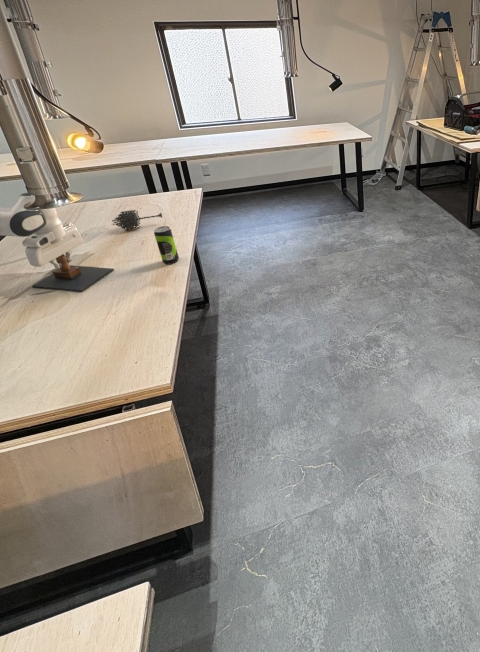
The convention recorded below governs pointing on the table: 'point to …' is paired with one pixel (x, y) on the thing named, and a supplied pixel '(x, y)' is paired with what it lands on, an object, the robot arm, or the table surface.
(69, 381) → the table surface
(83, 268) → the mat
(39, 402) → the table surface
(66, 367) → the table surface
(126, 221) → the massage brush
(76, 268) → the wooden rubber stamp
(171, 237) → the beverage can
